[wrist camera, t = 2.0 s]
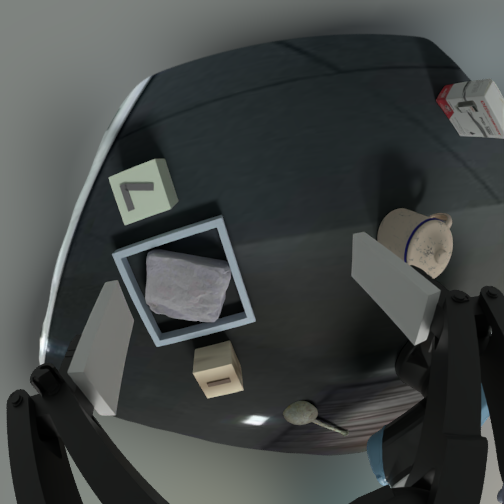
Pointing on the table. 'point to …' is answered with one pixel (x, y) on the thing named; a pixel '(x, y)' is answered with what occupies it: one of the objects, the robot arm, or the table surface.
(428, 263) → the teacup with lid
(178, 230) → the slate-blue holder
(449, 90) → the ink box
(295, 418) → the soupspoon
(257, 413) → the table surface
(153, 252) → the stone block
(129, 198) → the numbered sage-green block
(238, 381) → the numbered birch block
